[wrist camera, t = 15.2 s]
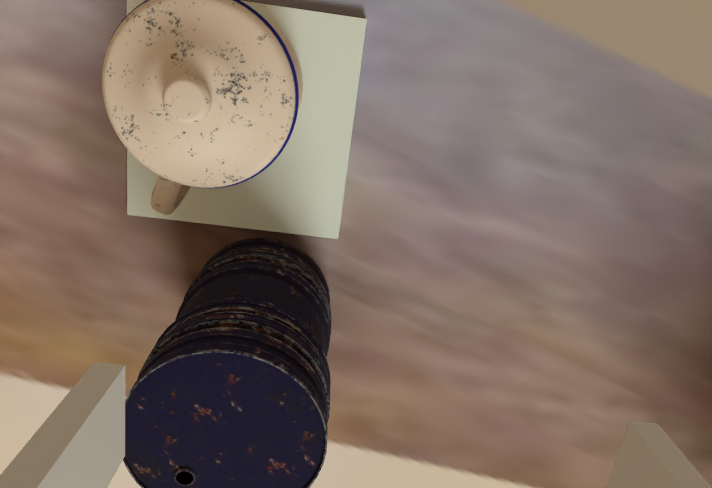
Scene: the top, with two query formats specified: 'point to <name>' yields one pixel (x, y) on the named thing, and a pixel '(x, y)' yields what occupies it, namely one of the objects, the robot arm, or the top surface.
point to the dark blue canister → (237, 377)
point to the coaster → (303, 150)
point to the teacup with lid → (200, 93)
